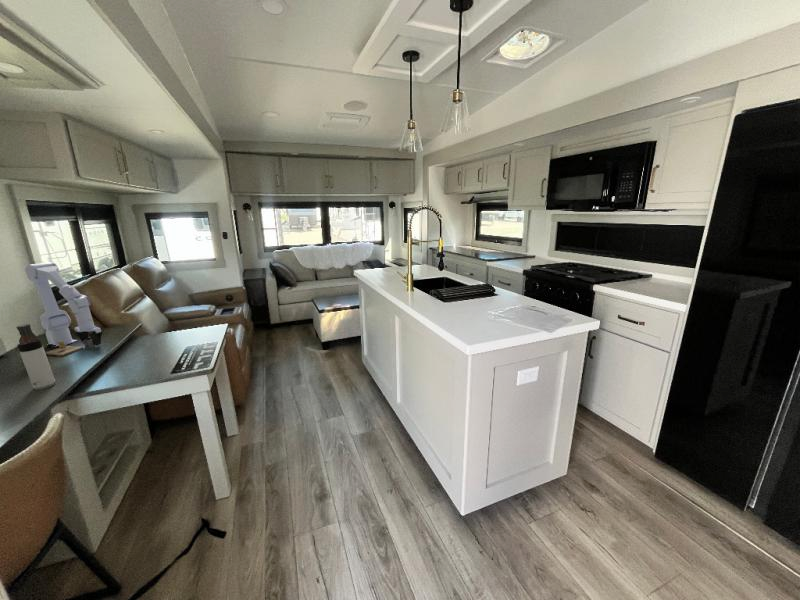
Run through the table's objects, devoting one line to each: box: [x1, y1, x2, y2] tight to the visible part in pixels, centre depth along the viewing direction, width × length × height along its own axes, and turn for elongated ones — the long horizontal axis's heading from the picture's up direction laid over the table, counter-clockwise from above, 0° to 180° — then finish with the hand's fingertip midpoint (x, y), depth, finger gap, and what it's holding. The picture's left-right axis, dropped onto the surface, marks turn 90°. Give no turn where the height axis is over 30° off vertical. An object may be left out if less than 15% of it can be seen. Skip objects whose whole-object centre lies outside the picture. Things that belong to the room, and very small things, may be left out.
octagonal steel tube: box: [82, 336, 101, 350], centre depth 167 cm, size 6×6×5 cm
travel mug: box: [16, 339, 57, 391], centre depth 129 cm, size 6×7×20 cm
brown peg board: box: [45, 341, 84, 357], centre depth 162 cm, size 12×9×6 cm
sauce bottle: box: [16, 323, 41, 344], centre depth 147 cm, size 6×6×20 cm
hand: (92, 344), depth 168 cm, fingers open, 7 cm apart
